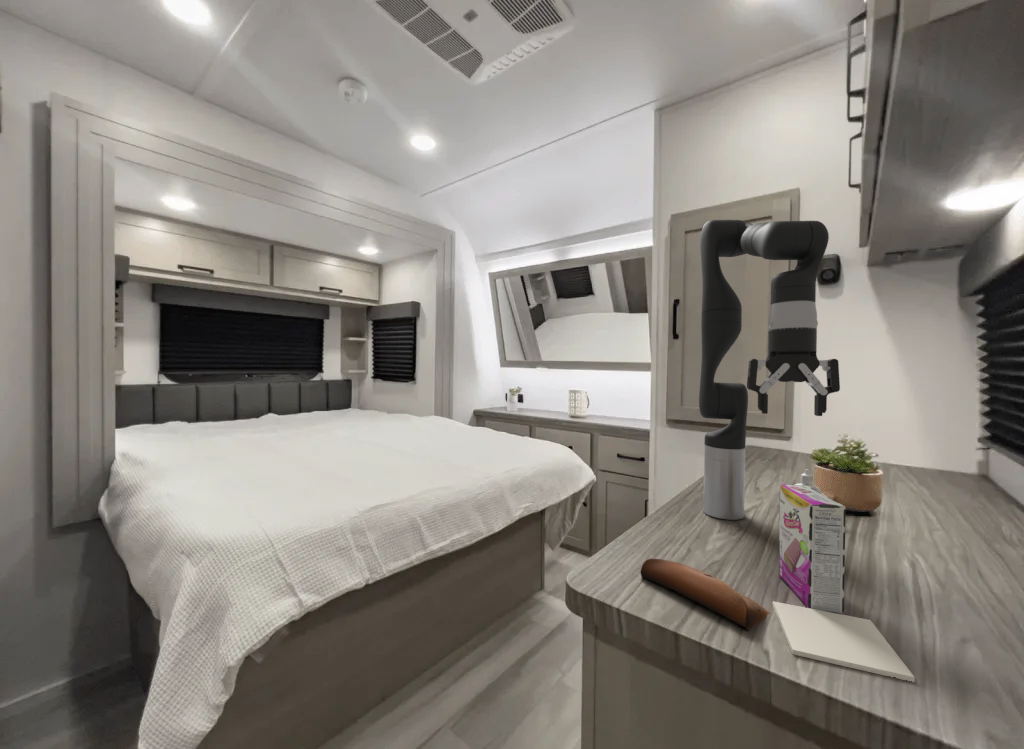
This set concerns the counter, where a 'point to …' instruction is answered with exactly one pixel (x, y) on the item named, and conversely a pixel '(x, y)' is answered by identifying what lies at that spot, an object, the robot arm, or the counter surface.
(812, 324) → the robot arm
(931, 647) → the counter surface
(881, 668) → the board
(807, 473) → the eye dropper bottle
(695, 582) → the sunglasses case
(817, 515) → the candy bar box
